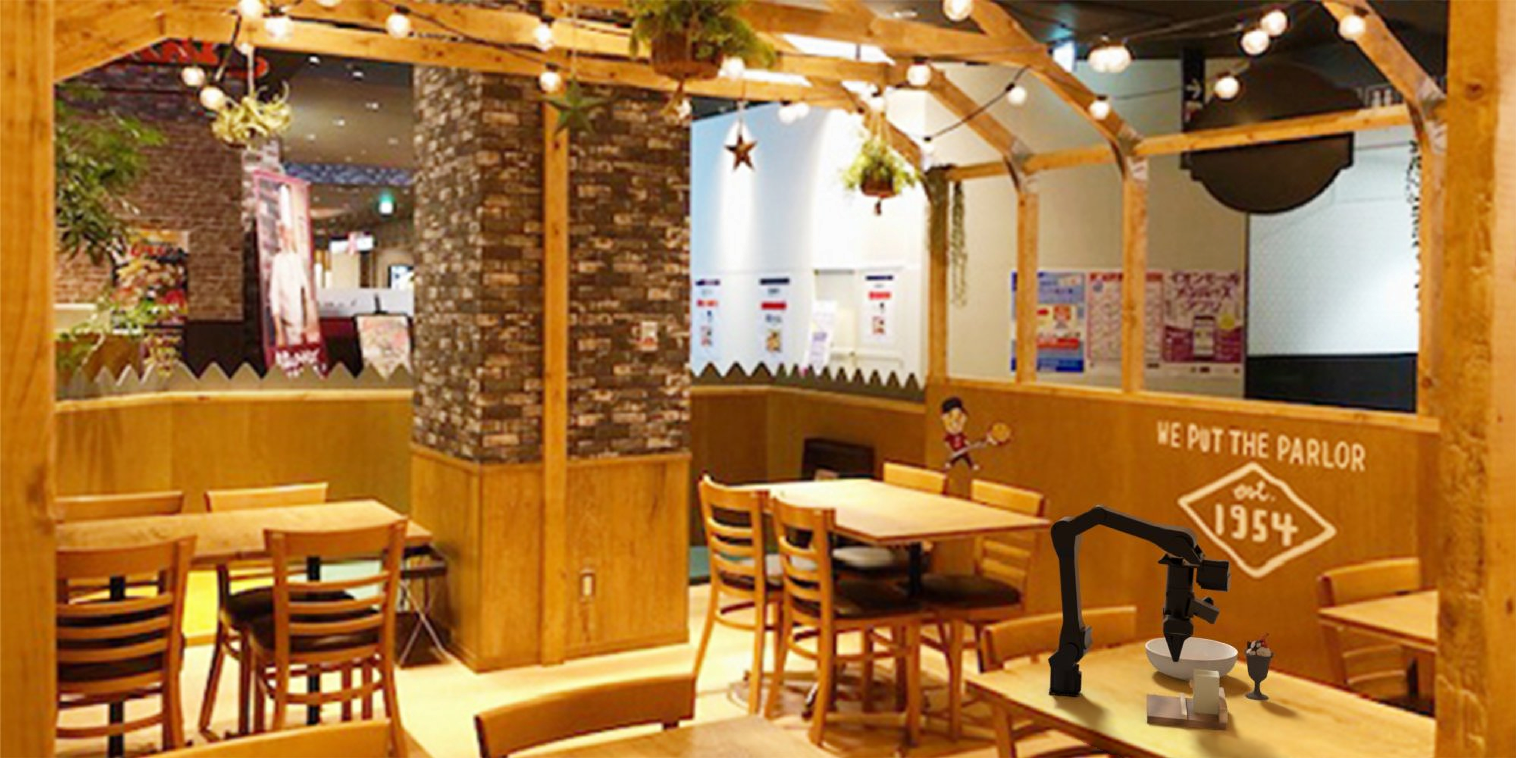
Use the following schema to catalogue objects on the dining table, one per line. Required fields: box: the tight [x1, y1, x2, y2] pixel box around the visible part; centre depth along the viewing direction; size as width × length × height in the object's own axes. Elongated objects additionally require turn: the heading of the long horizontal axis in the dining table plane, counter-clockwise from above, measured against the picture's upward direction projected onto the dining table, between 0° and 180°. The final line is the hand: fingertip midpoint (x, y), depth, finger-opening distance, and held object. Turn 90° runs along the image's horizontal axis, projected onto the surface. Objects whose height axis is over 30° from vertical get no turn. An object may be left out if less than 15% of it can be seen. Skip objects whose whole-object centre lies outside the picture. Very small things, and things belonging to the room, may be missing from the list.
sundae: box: [1242, 632, 1275, 701], centre depth 308 cm, size 7×7×15 cm
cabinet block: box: [1189, 669, 1220, 715], centre depth 294 cm, size 6×5×8 cm
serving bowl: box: [1144, 636, 1239, 682], centre depth 325 cm, size 21×21×7 cm
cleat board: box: [1146, 686, 1229, 731], centre depth 295 cm, size 16×16×4 cm
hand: (1175, 656), depth 299 cm, fingers open, 9 cm apart
